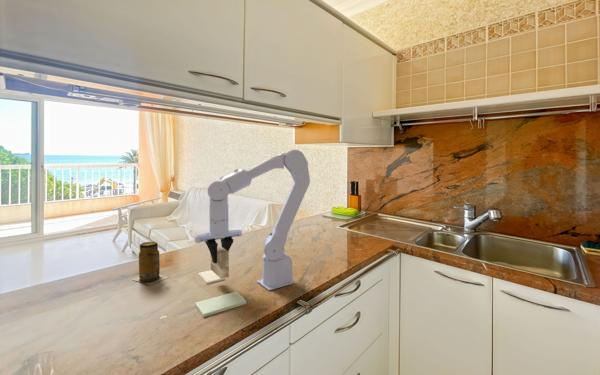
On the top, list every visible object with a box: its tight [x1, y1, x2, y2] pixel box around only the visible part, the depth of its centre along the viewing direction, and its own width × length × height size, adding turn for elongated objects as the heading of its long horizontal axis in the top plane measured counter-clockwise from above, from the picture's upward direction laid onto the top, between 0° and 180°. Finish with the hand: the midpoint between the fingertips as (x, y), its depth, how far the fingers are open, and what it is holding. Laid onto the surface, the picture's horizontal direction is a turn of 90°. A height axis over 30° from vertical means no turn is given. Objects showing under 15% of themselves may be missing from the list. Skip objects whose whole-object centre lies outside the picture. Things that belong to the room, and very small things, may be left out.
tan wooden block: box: [210, 244, 230, 279], centre depth 88 cm, size 2×9×8 cm, turn 36°
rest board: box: [194, 291, 248, 318], centre depth 77 cm, size 12×7×1 cm, turn 126°
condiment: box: [132, 241, 169, 286], centre depth 92 cm, size 7×8×12 cm
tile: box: [197, 269, 226, 285], centre depth 95 cm, size 6×1×9 cm
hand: (219, 261), depth 88 cm, fingers closed on tan wooden block, 2 cm apart
